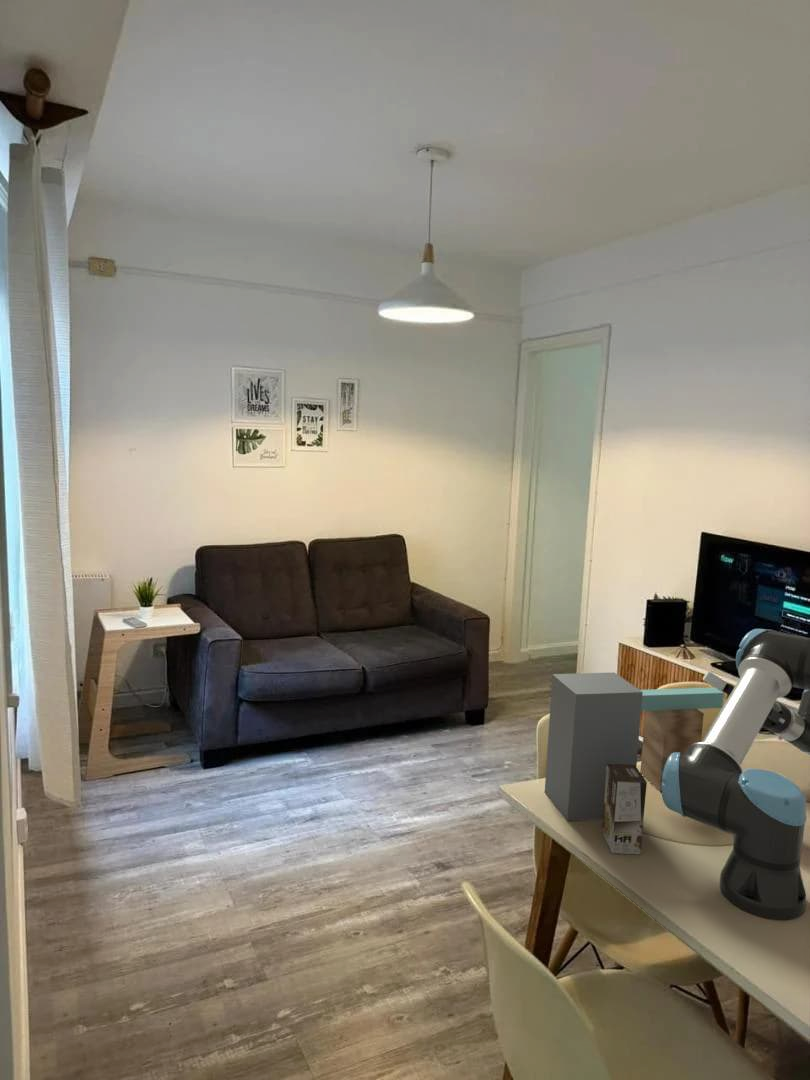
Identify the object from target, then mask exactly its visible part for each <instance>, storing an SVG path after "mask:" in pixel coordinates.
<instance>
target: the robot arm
mask: <svg viewBox="0 0 810 1080" xmlns="http://www.w3.org/2000/svg"><path fill="white" fill-rule="evenodd" d="M738 647H739V649H738V650H737V651H736V655H735V665H736V669H737V672H738V676H739V679H738V681H737V683H736V684H735V686H733V685H731V684H729V683H728V681H726V680H724V679H722V677H721V678H720V677H719V676H717V675H716V674H714V673H713V672H711V671H709V670H707V671H706V672H705V674H704V676H703V677H702V680H703V681H705V682H706V683H708V684H709V685H711V686H712V687H713V688H714V687H715V688H716V689H718V690H720V691H722V692H723V693H724V694H726V695H728V697H727V698H726V701H725V703H723V707H722V708H720V710H719V712H718V713H717V716H716V717H715V719H714V721H713V722H712V724H711V725H710V727H709V729H708V730H707V732H706V734H705V735H704V737H703V738H702V739H701V742H698V743H694V744H692V745H691V746H690V747H689V748H688V750H687V751H686V753H685V754H684V755H683V754H681V753H680V752H678V753H677V752H675V753H672V754H671V755H670V756H669V757H668V759H667V761H666V764H665V767H664V771H663V776H662V785H661V789H662V792H661V796H662V801H663V804H664V805H665V807H667V808H668V810H669V811H673V812H675V813H676V814H679V815H680V816H682V817H683V818H689V819H692V820H694V821H697V822H700V823H702V824H705V825H707V826H709V827H712V828H714V829H716V830H717V829H718V830H719V831H721V832H724V833H727V834H730V835H732V836H733V845H732V850H731V852H730V853H729V856H728V857H727V860H726V862H725V864H724V865H723V867H722V869H721V872H720V875H719V883H718V884H719V889H720V892H721V894H722V895H723V896H724V897H725V898H726V899H727V900H728V901H729V902H730V903H732V904H733V905H734V906H735V907H737V908H739V909H741V910H743V911H746V912H747V913H750V914H752V915H756V916H758V917H760V918H761V917H762V918H765V919H772V920H781V921H782V920H783V921H784V920H791V919H792V920H793V919H796V918H798V917H800V916H802V915H803V914H804V912H805V911H806V905H807V893H806V888H805V885H804V881H803V876H802V873H801V867H800V865H801V857H802V856H801V855H802V849H803V848H802V847H803V841H804V833H805V825H806V824H805V823H806V822H807V813H806V811H807V799H806V796H805V794H804V792H803V791H802V790H801V788H800V787H799V786H798V785H797V784H796V783H794V782H793V781H791V780H790V779H789V778H788V779H789V780H788V779H787V777H786V776H785V777H786V778H785V777H783V776H780V775H778V774H776V773H773V772H770V771H771V770H770V771H766V770H767V769H766V770H763V771H761V770H759V769H760V768H756V769H755V768H747V769H748V770H746V769H744V770H745V771H744V770H743V769H742V766H741V765H742V763H743V761H744V760H745V758H746V756H747V754H748V752H749V751H750V749H751V747H752V745H753V743H754V741H755V740H756V738H757V736H758V734H759V733H760V731H761V729H762V728H764V729H765V730H768V731H769V732H771V733H773V734H774V735H776V736H778V737H777V738H778V740H780V741H782V740H784V741H785V742H788V743H789V744H791V745H792V746H794V747H795V748H797V749H798V750H799V751H801V752H802V753H806V754H807V755H810V637H805V636H801V635H796V634H790V633H786V632H782V631H777V630H774V629H765V628H754V629H752V630H750V631H749V632H747V633H746V634H745V635H744V637H742V639H741V641H740V643H739V645H738ZM792 688H797V689H801V690H803V692H802V695H801V698H800V699H801V700H800V704H799V707H798V709H797V713H796V712H795V711H793V710H792V709H790V708H788V707H786V705H783V704H782V703H780V702H778V701H777V699H778V698H779V699H780V698H783V697H786V696H788V694H789V693H790V692H791V690H792Z"/></svg>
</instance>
